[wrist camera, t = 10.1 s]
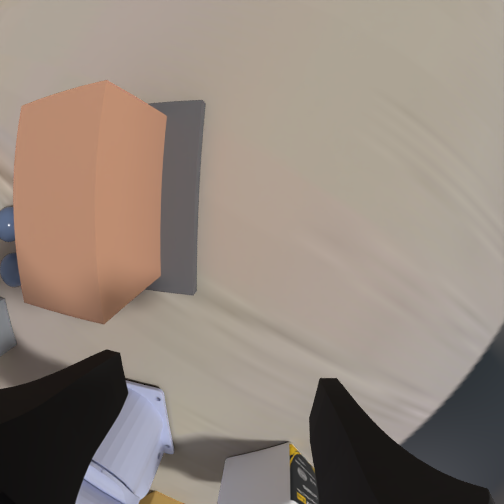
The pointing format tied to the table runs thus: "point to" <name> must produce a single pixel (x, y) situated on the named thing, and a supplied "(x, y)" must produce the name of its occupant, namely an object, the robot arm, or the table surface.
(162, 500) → the rubber stamp
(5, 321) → the grey rectangular block
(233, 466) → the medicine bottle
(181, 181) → the charcoal mat
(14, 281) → the marble
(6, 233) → the marble
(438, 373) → the table surface
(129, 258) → the salmon rectangular prism
